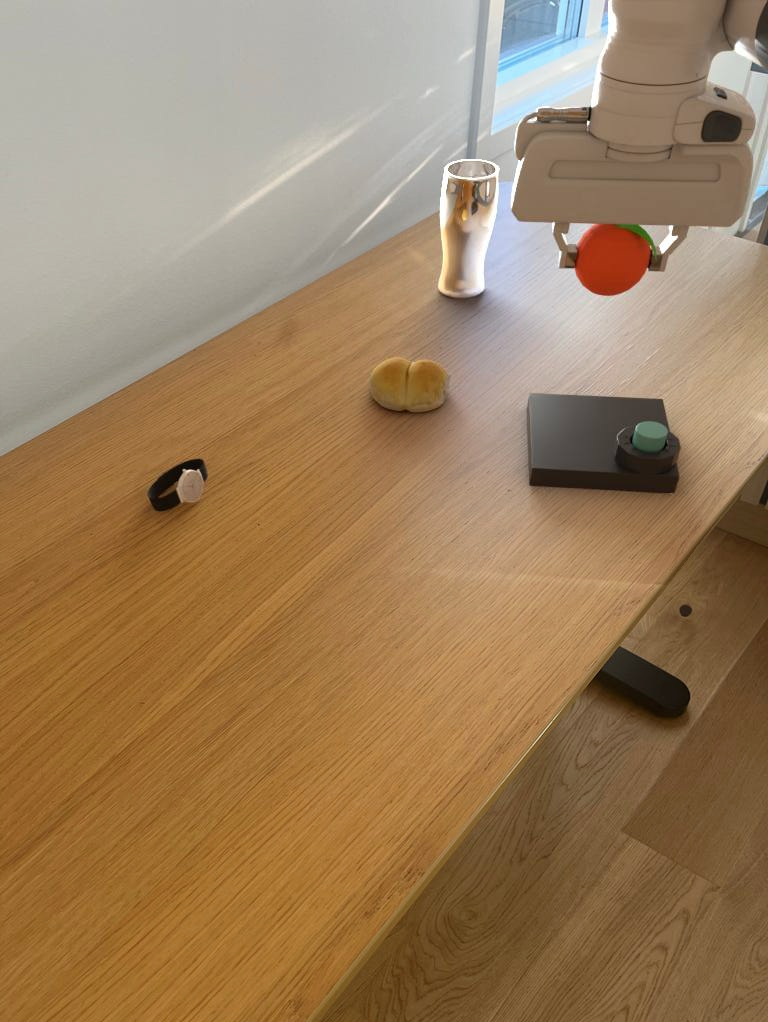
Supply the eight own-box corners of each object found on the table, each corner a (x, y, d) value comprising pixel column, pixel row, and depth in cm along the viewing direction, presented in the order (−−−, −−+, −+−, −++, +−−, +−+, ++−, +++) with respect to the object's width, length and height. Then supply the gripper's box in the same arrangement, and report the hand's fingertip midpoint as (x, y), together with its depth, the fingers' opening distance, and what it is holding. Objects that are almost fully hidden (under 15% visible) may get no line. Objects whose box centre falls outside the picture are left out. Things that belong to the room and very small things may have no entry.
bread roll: (377, 373, 111) (378, 341, 108) (452, 381, 109) (455, 350, 106) (360, 410, 106) (360, 378, 103) (439, 420, 104) (441, 388, 101)
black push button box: (657, 416, 103) (667, 383, 100) (674, 494, 93) (684, 460, 90) (526, 410, 104) (531, 377, 102) (528, 486, 95) (534, 453, 92)
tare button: (661, 436, 94) (666, 421, 92) (665, 454, 92) (669, 439, 90) (630, 435, 94) (634, 420, 93) (633, 452, 92) (637, 437, 91)
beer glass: (431, 298, 124) (439, 178, 113) (438, 274, 128) (446, 157, 118) (484, 301, 122) (498, 181, 112) (489, 277, 127) (503, 159, 116)
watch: (174, 523, 93) (170, 493, 91) (138, 508, 95) (132, 479, 92) (220, 482, 98) (217, 453, 95) (184, 469, 99) (179, 440, 97)
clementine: (665, 294, 91) (684, 219, 86) (625, 320, 88) (642, 243, 83) (594, 269, 95) (608, 197, 90) (553, 293, 92) (566, 219, 87)
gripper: (519, 119, 79) (499, 278, 89) (777, 121, 76) (727, 286, 86) (519, 95, 83) (499, 250, 93) (763, 97, 81) (716, 256, 91)
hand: (610, 267), depth 90 cm, fingers closed on clementine, 7 cm apart
